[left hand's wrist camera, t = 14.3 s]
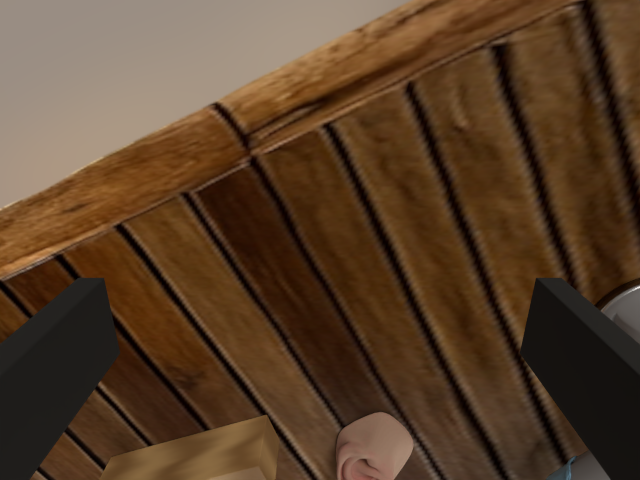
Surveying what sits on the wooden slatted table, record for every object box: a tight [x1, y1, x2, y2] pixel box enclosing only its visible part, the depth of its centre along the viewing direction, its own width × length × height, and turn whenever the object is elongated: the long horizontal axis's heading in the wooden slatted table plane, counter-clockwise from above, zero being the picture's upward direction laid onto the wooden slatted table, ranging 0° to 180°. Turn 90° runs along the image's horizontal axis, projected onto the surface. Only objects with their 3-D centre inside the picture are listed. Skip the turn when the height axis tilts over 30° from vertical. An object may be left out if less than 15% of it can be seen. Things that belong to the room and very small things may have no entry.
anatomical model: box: [336, 412, 413, 480], centre depth 56 cm, size 13×4×12 cm
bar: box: [99, 415, 280, 480], centre depth 55 cm, size 24×5×8 cm, turn 109°
